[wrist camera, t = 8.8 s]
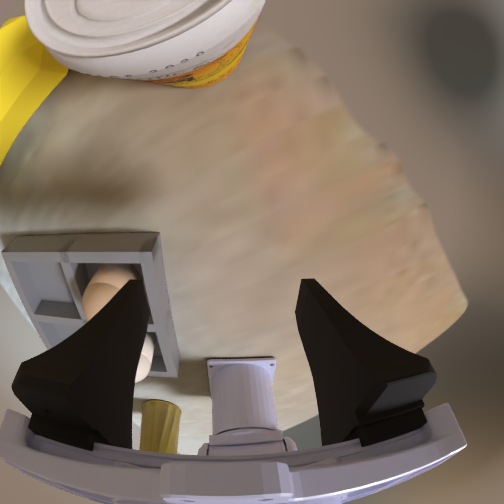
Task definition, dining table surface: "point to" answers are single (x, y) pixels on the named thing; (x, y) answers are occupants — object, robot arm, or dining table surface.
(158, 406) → the vase
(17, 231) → the dining table surface
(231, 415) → the robot arm
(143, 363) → the cream egg
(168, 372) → the gray compartment tray
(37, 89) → the yellow banana
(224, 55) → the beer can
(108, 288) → the brown egg
